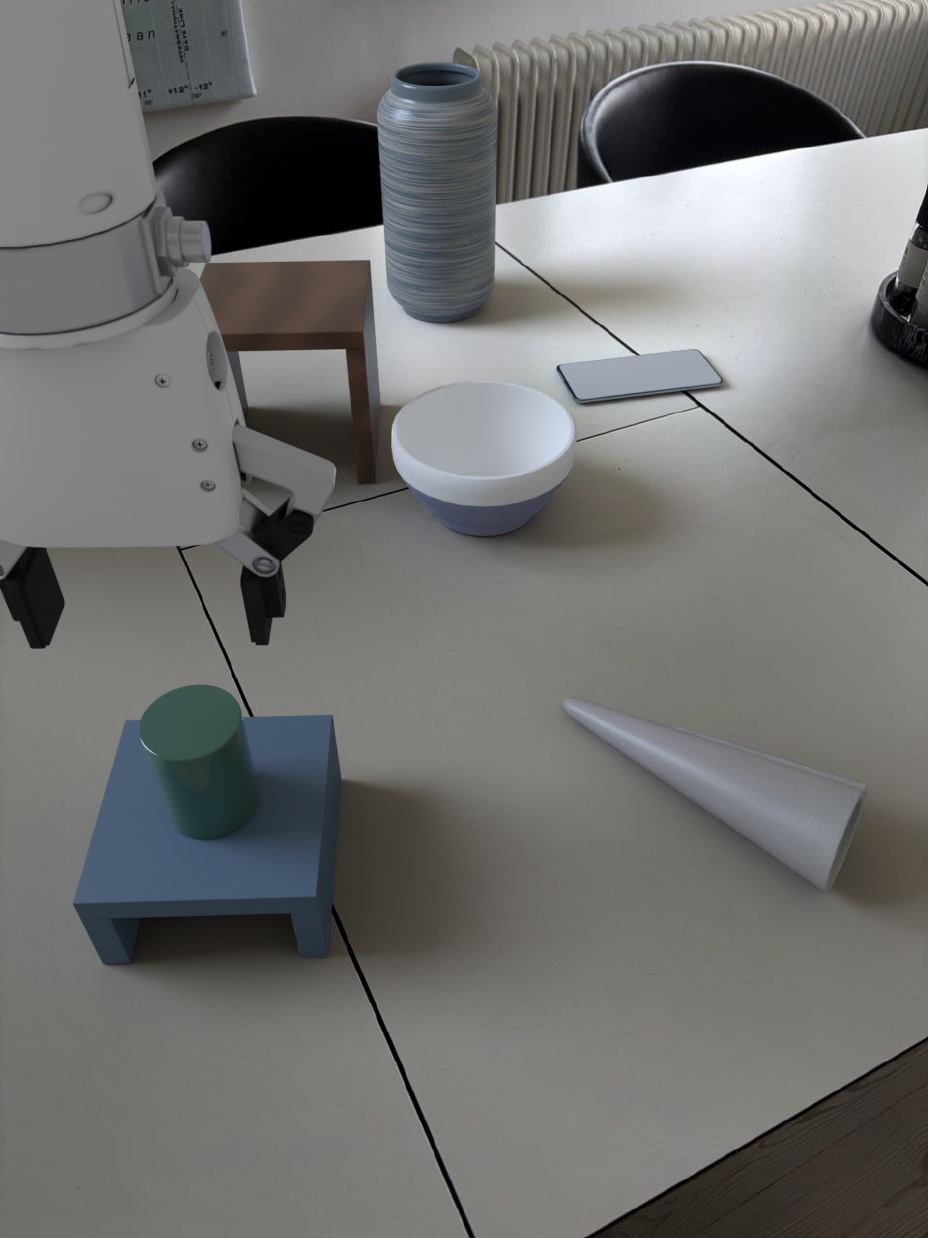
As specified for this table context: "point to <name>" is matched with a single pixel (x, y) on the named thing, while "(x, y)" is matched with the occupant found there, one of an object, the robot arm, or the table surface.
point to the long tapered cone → (743, 789)
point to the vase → (438, 189)
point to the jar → (200, 760)
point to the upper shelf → (304, 327)
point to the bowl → (483, 453)
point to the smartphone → (638, 375)
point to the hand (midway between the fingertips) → (157, 625)
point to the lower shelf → (219, 844)
